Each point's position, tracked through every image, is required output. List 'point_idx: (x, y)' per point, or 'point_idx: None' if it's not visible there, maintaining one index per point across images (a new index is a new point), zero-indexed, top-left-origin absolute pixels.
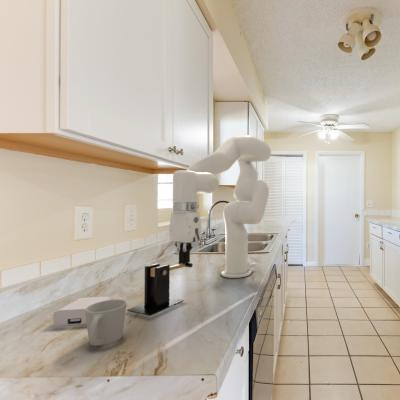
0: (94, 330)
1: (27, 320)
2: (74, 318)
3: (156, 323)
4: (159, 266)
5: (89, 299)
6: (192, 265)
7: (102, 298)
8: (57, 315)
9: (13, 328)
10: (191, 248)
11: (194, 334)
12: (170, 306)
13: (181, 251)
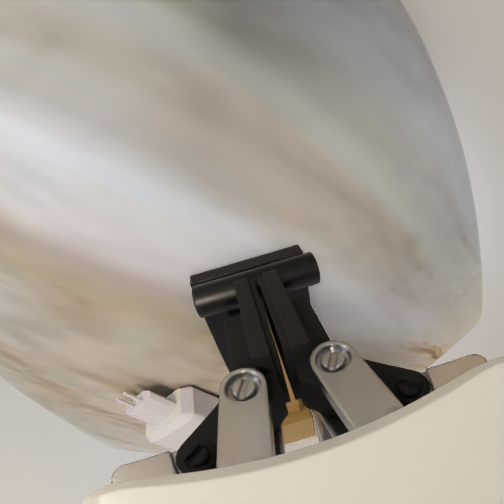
0: None
1: (124, 441)
2: None
3: (342, 337)
4: (285, 426)
5: (180, 439)
6: (312, 255)
7: (195, 428)
8: None
9: (150, 449)
10: (376, 365)
11: (435, 302)
12: (309, 301)
13: (285, 402)
